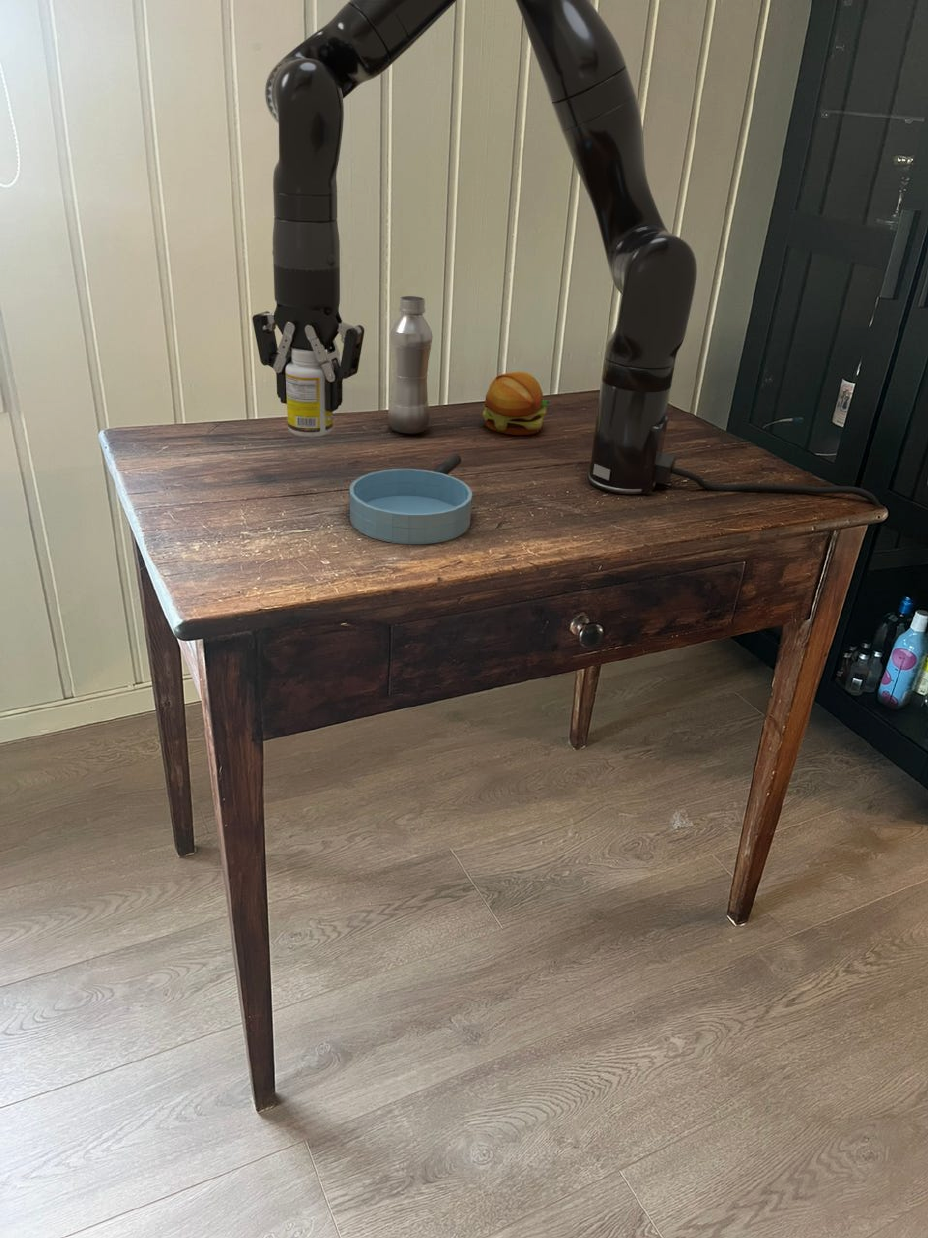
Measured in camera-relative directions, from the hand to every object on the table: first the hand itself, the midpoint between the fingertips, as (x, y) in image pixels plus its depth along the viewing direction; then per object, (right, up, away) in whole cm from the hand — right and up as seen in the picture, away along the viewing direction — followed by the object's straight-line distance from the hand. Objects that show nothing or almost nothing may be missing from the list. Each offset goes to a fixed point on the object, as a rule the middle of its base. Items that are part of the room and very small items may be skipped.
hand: (309, 405), depth 116 cm
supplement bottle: (0, -3, +2) cm, 3 cm away
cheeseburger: (+27, +4, +36) cm, 45 cm away
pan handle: (+16, -7, +10) cm, 21 cm away
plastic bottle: (+10, +3, +31) cm, 33 cm away
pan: (+12, -14, +2) cm, 19 cm away
